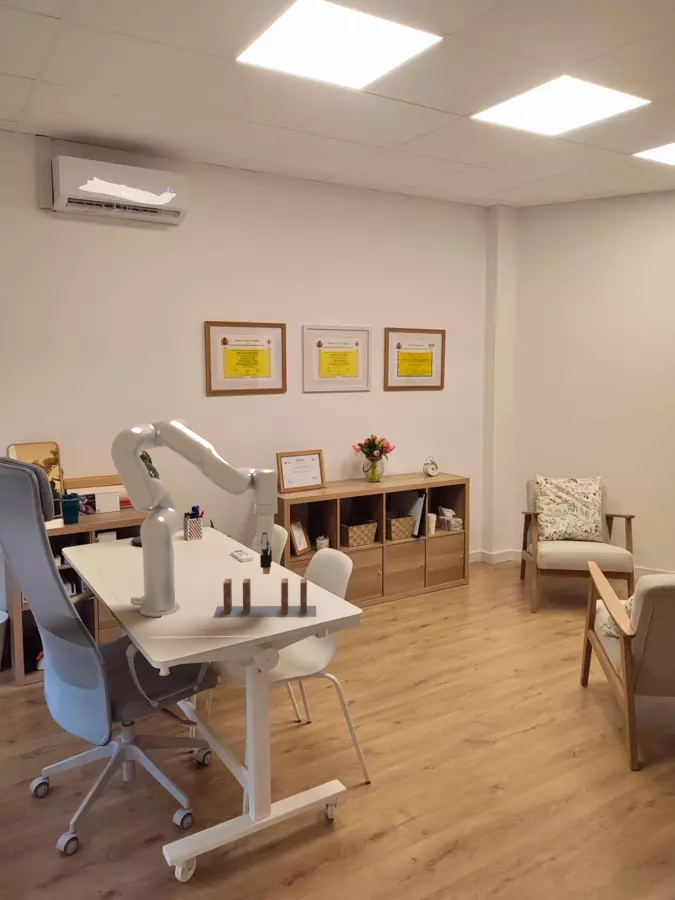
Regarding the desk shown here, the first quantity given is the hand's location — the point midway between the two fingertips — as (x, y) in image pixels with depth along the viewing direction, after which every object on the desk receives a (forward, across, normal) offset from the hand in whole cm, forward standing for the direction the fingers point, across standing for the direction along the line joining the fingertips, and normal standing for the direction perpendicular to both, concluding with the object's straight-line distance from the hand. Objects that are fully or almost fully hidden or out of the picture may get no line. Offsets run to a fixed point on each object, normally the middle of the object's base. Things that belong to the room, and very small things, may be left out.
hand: (266, 564), depth 217 cm
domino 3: (+2, 0, 0) cm, 2 cm away
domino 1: (+15, 0, -12) cm, 20 cm away
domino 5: (+15, 0, +12) cm, 19 cm away
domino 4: (+15, 0, +6) cm, 16 cm away
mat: (+16, 0, 0) cm, 16 cm away
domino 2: (+15, 0, -6) cm, 16 cm away
